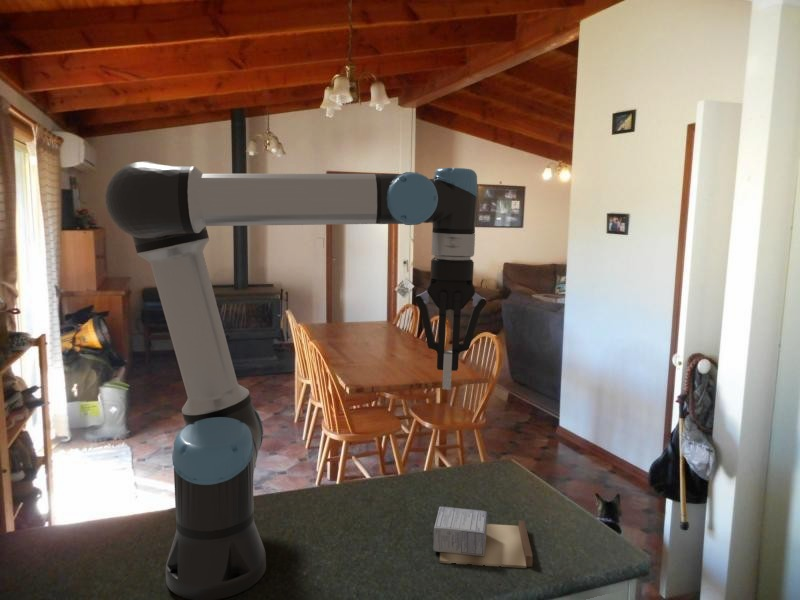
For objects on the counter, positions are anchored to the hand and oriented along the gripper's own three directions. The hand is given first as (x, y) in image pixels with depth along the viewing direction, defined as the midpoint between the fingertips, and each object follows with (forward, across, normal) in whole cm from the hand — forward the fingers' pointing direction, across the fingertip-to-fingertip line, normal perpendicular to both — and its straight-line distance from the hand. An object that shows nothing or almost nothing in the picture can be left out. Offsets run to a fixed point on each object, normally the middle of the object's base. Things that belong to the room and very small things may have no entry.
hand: (446, 387), depth 113 cm
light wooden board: (+25, +7, -8) cm, 28 cm away
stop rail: (+25, +15, -8) cm, 30 cm away
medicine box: (+23, -1, -9) cm, 24 cm away
